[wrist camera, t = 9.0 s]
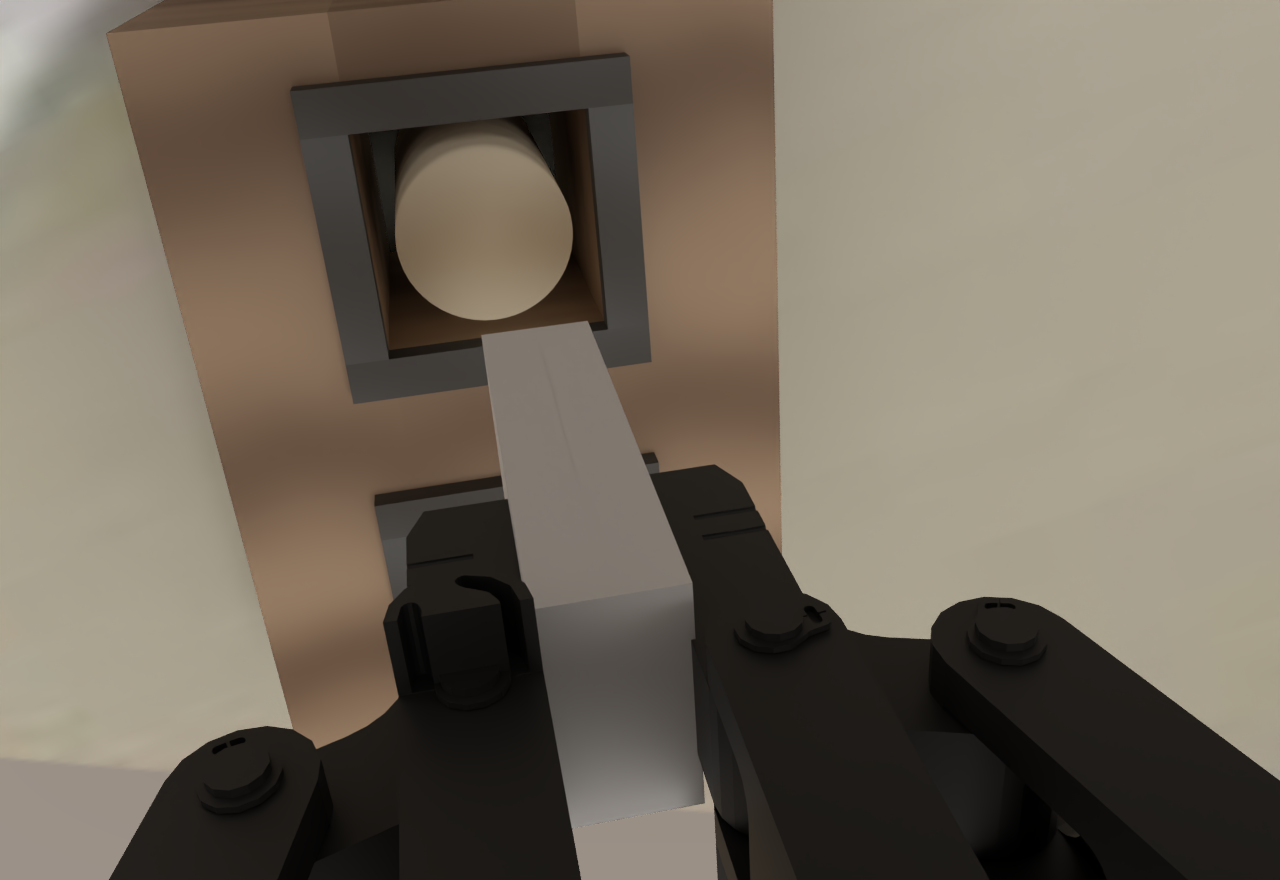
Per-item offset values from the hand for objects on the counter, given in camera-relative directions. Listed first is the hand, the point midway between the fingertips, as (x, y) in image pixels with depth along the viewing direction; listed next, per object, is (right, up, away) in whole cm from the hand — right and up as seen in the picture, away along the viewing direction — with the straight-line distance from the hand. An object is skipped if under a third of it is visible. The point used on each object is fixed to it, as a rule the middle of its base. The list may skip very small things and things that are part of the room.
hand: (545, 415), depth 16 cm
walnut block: (-3, +4, +19) cm, 20 cm away
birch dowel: (-4, +8, +17) cm, 19 cm away
